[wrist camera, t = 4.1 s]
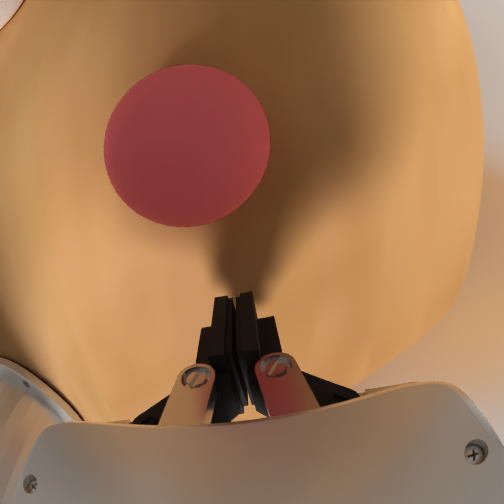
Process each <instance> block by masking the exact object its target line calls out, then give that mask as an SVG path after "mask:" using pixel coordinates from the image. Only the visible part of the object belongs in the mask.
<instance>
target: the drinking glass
mask: <svg viewBox="0 0 504 504" xmlns="http://www.w3.org/2000/svg"><path fill="white" fill-rule="evenodd" d="M22 2H23V0H0V29H2V28H3V27H4V26H5V25H6V23H7V22H8V21H9V20H10V19H11V18H12V16H13V15H14V14H15V13H16V11H17V10H18V8H19V7H20V5H21V4H22Z"/></svg>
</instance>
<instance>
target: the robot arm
mask: <svg viewBox="0 0 504 504" xmlns="http://www.w3.org/2000/svg"><path fill="white" fill-rule="evenodd" d="M247 390H248V391H247ZM248 394H249V397H250V400H251V403H252V405H255V408H256V411H258V412H259V413H261V414H263V415H265V416H267V418H261V419H254V420H246V421H237V422H235V420H234V418H235V417H236V416H237V415H238V414H242V413H244V406H248ZM0 504H504V446H503V444H502V442H501V441H500V439H499V438H498V436H497V434H496V433H495V431H494V429H493V428H492V426H491V425H490V423H489V422H488V420H487V419H486V418H485V416H484V415H483V413H482V412H481V411H480V409H479V408H478V407H477V406H476V405H475V403H474V402H473V401H472V400H471V399H470V398H469V397H468V396H467V395H466V394H465V393H464V392H463V391H462V390H461V389H459V388H458V387H457V386H455V385H453V384H451V383H447V382H439V381H428V382H409V383H404V384H399V385H393V386H386V387H380V388H373V389H365V391H364V392H363V393H357V392H356V391H354V390H352V389H349V388H346V387H343V386H340V385H338V384H335V383H332V382H329V381H326V380H324V379H321V378H318V377H316V376H313V375H310V374H308V373H305V372H303V371H301V370H300V368H299V366H298V364H297V362H296V360H295V359H294V358H293V357H292V356H291V355H289V354H286V353H283V352H282V349H281V345H280V340H279V336H278V332H277V327H276V323H275V318H274V316H271V317H266V318H260V319H258V318H257V313H256V308H255V303H254V298H253V293H252V291H250V292H245V293H240V297H236V310H235V306H234V302H233V298H229V299H228V296H222V297H216V298H215V301H214V308H213V316H212V324H211V327H204V328H202V329H201V334H200V340H199V346H198V352H197V358H196V364H193V365H190V366H188V367H186V368H184V369H183V370H182V371H181V372H180V373H179V375H178V376H177V379H176V381H175V384H174V386H173V389H172V391H171V394H170V395H168V396H167V397H165V398H164V399H162V400H161V401H160V402H158V403H157V404H155V405H154V406H152V407H151V408H149V409H148V410H146V411H145V412H143V413H142V414H140V415H139V416H138V417H136V418H135V419H134V421H133V422H131V421H130V420H122V421H115V422H92V421H82V420H81V419H80V417H79V416H78V415H77V413H76V412H75V411H74V410H73V409H72V408H71V407H70V406H69V405H68V404H67V403H66V402H65V401H64V400H63V399H62V398H61V397H60V396H59V395H58V394H57V393H55V392H54V391H53V390H52V389H51V388H50V387H49V386H47V385H46V384H45V383H44V382H42V381H41V380H40V379H39V378H37V377H36V376H35V375H33V374H32V373H30V372H29V371H28V370H26V369H24V368H23V367H21V366H20V365H18V364H16V363H14V362H12V361H10V360H7V359H4V358H0Z"/></svg>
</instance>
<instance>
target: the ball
mask: <svg viewBox="0 0 504 504" xmlns="http://www.w3.org/2000/svg"><path fill="white" fill-rule="evenodd" d="M269 153H270V129H269V125H268V121H267V117H266V115H265V112H264V110H263V108H262V106H261V104H260V102H259V101H258V99H257V98H256V97H255V95H254V94H253V93H252V91H251V90H250V89H249V88H248V87H247V86H246V85H245V84H244V83H243V82H241V81H240V80H238V79H237V78H236V77H234V76H232V75H231V74H229V73H227V72H225V71H222V70H220V69H217V68H214V67H209V66H204V65H192V64H189V65H177V66H172V67H168V68H165V69H162V70H159V71H157V72H155V73H152V74H150V75H148V76H147V77H145V78H144V79H142V80H141V81H139V82H138V83H137V84H136V85H134V86H133V87H132V88H131V89H130V90H129V91H128V92H127V93H126V94H125V95H124V96H123V98H122V99H121V100H120V102H119V103H118V104H117V106H116V108H115V110H114V111H113V113H112V115H111V118H110V120H109V123H108V126H107V129H106V133H105V140H104V159H105V165H106V169H107V173H108V176H109V178H110V181H111V183H112V185H113V187H114V189H115V190H116V192H117V193H118V195H119V196H120V198H121V199H122V200H123V201H124V202H125V203H126V204H127V205H128V206H129V207H130V208H131V209H133V210H134V211H135V212H136V213H138V214H140V215H141V216H143V217H145V218H147V219H149V220H152V221H154V222H156V223H160V224H163V225H167V226H175V227H191V226H199V225H203V224H207V223H210V222H213V221H215V220H218V219H220V218H222V217H224V216H226V215H228V214H230V213H231V212H232V211H234V210H235V209H237V208H238V207H239V206H240V205H241V204H243V203H244V202H245V201H246V200H247V199H248V198H249V196H250V195H251V194H252V193H253V192H254V190H255V189H256V187H257V186H258V184H259V183H260V181H261V179H262V176H263V174H264V172H265V169H266V166H267V163H268V159H269Z"/></svg>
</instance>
